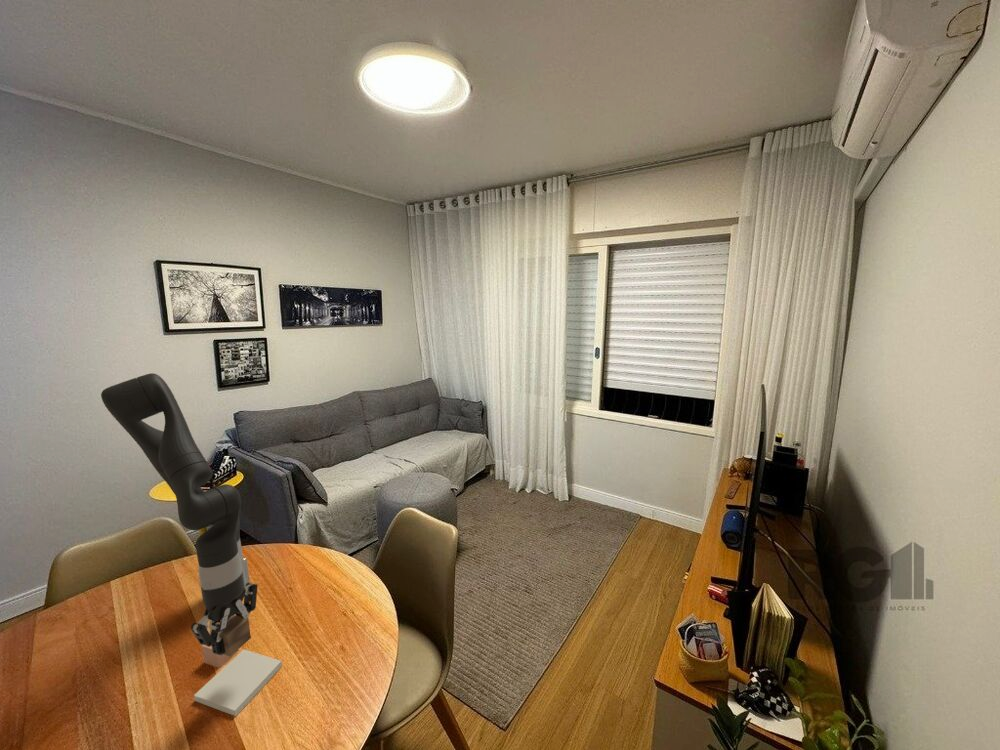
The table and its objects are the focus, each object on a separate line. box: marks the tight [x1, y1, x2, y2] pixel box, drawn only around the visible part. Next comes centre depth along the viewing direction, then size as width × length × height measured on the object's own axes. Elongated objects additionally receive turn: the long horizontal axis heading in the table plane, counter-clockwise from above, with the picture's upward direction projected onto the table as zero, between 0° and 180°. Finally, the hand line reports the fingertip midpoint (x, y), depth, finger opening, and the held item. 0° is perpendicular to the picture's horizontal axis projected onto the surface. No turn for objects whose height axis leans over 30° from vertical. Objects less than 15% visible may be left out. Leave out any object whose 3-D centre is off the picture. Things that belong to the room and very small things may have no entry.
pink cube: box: [201, 644, 240, 669], centre depth 95 cm, size 5×5×5 cm
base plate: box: [193, 649, 283, 717], centre depth 88 cm, size 12×12×2 cm
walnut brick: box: [216, 615, 252, 656], centre depth 86 cm, size 5×5×5 cm
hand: (232, 642), depth 86 cm, fingers closed on walnut brick, 5 cm apart
